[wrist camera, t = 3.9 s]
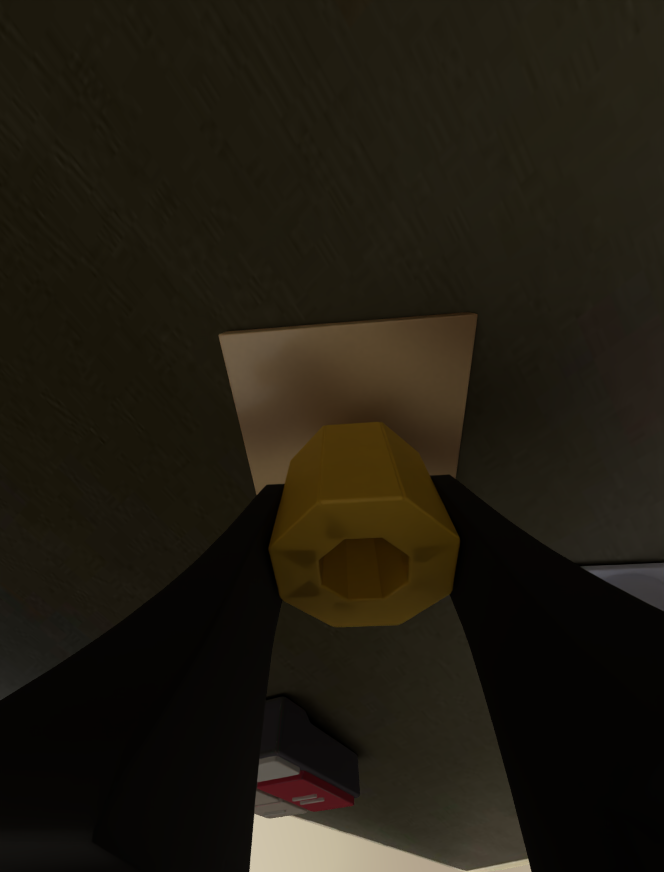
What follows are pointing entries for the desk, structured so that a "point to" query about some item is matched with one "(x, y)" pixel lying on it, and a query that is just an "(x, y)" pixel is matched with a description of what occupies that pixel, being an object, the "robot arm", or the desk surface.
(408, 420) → the stand
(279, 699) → the calculator
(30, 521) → the desk surface
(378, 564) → the sleeve
